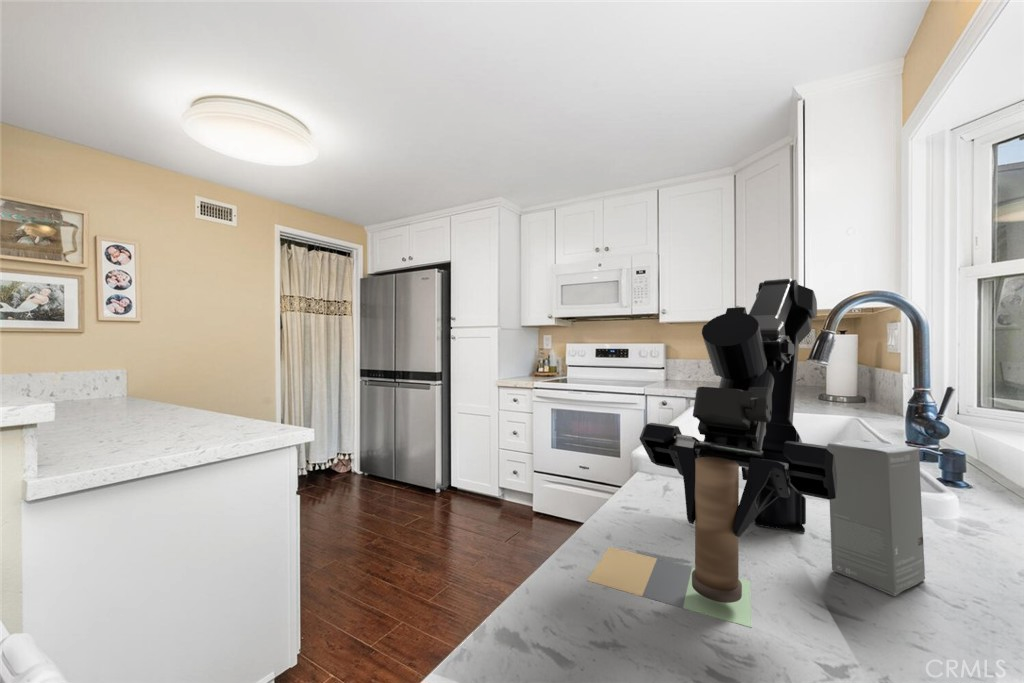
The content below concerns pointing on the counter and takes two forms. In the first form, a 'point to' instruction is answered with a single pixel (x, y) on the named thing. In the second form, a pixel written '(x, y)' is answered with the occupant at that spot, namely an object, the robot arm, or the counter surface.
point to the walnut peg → (716, 529)
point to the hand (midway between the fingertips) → (712, 528)
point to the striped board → (666, 584)
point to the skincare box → (877, 515)
